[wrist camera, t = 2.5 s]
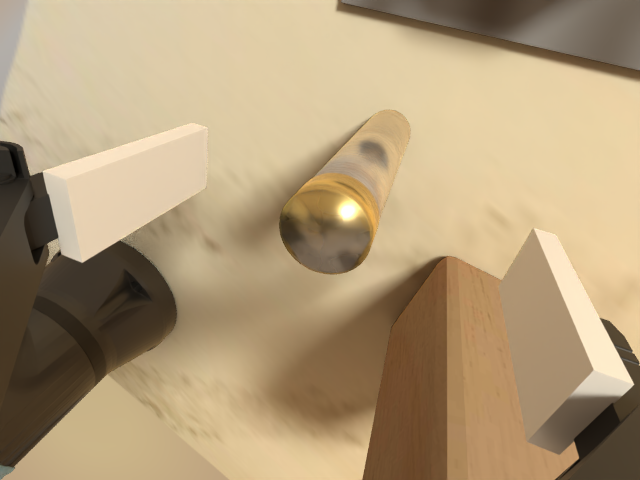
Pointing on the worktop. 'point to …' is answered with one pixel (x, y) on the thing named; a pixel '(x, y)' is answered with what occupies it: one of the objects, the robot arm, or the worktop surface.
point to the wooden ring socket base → (536, 23)
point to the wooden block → (454, 390)
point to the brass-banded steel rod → (346, 198)
